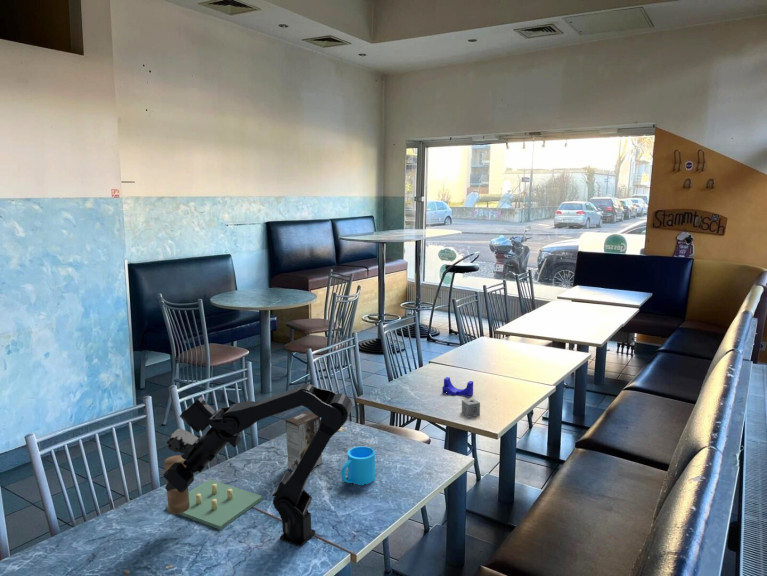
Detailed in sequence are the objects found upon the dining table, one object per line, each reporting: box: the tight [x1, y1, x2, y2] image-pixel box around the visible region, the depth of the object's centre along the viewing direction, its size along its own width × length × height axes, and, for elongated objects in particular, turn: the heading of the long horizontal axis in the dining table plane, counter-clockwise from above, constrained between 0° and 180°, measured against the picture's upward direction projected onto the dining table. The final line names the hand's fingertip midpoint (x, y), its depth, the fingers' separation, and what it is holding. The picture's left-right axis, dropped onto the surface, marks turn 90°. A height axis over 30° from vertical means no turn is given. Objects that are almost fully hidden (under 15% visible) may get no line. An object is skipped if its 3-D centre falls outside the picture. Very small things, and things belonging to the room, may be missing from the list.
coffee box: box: [285, 410, 323, 472], centre depth 170 cm, size 9×6×16 cm
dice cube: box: [461, 397, 481, 417], centre depth 211 cm, size 5×5×5 cm
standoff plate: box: [164, 478, 263, 531], centre depth 151 cm, size 20×16×4 cm
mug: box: [340, 445, 376, 486], centre depth 162 cm, size 12×8×8 cm
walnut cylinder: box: [163, 454, 190, 515], centre depth 138 cm, size 5×5×13 cm
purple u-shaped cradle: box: [441, 376, 474, 398], centre depth 232 cm, size 12×4×6 cm, turn 61°
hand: (171, 483), depth 138 cm, fingers closed on walnut cylinder, 5 cm apart
